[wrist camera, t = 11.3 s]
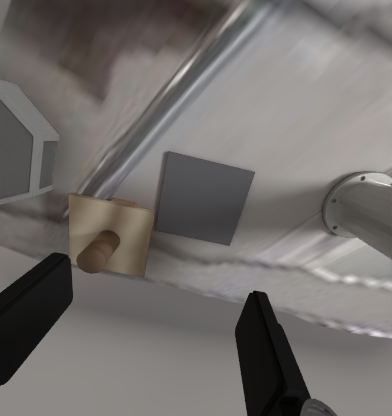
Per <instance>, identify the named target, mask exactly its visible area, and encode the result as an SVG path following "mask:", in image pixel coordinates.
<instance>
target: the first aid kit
mask: <svg viewBox="0 0 392 416" xmlns="http://www.w3.org/2000/svg"><path fill="white" fill-rule="evenodd" d="M59 137H60V136H59V135H58V134H57V132H56V131H55V130H54V129H53V128H52V126H51V125H50V124H49V123H48V122H47V121H46V119H45V118H44V117H43V116H42V115H41V113H40V112H39V111H38V110H37V109H36V108H35V106H34V105H33V104H32V103H31V102H30V100H29V99H28V98H27V97H26V96H25V95H24V93H23V92H22V91H21V90H20V89H19V88H18V86H17V85H16V84H14V83H11V82H9V81H6V80H2V79H0V205H1V204H5V203H9V202H14V201H18V200H22V199H27V198H31V197H35V196H37V195H40V194H43V193H45V192H48V191H51V190H53V185H52V177H53V169H54V161H55V153H56V145H57V141H59Z"/></svg>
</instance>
